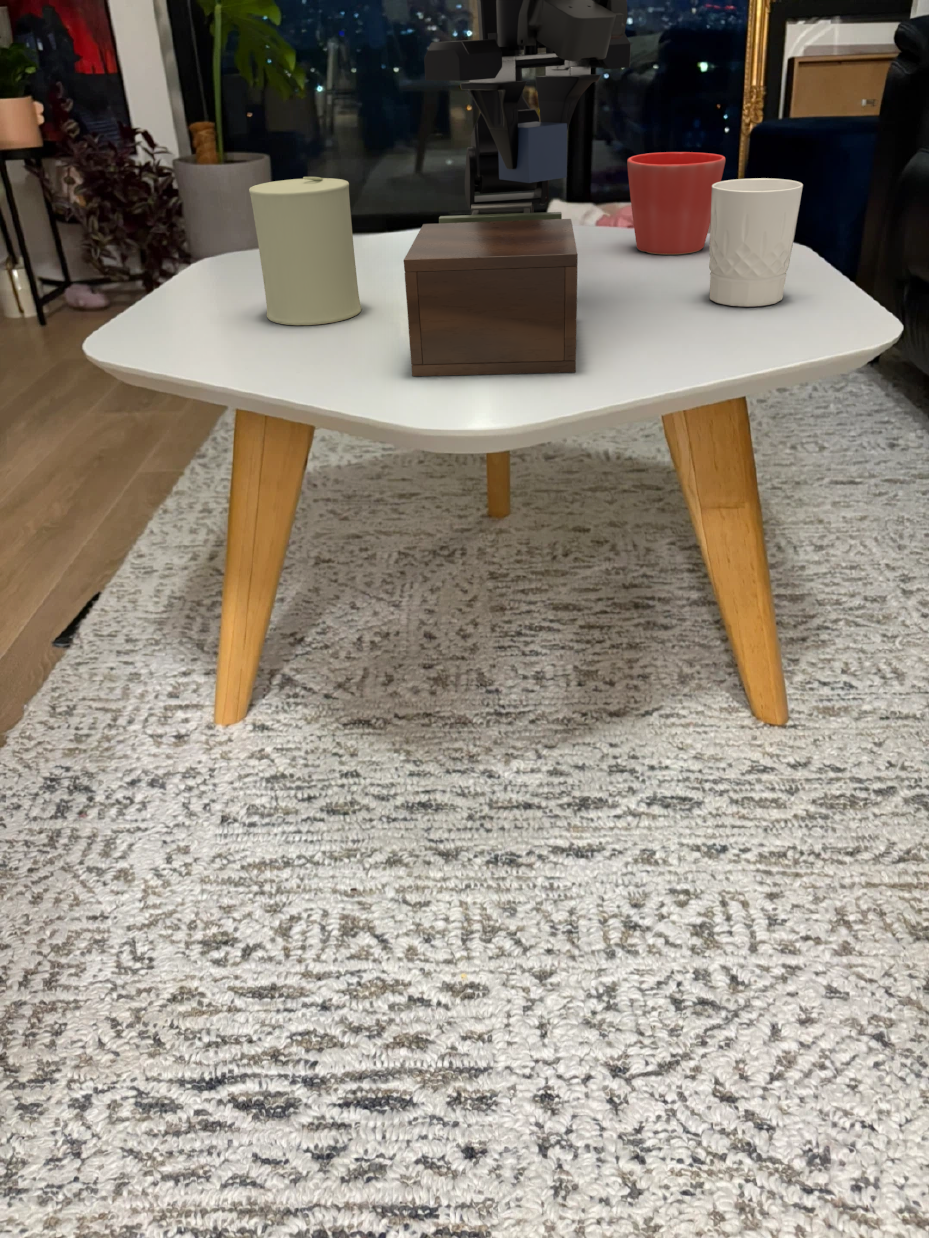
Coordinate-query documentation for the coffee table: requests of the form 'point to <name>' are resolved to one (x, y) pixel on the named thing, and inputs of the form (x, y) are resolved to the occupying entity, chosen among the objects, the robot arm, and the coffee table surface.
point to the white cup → (751, 239)
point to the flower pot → (672, 199)
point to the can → (306, 250)
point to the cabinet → (492, 298)
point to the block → (538, 153)
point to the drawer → (500, 213)
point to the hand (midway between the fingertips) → (531, 166)
